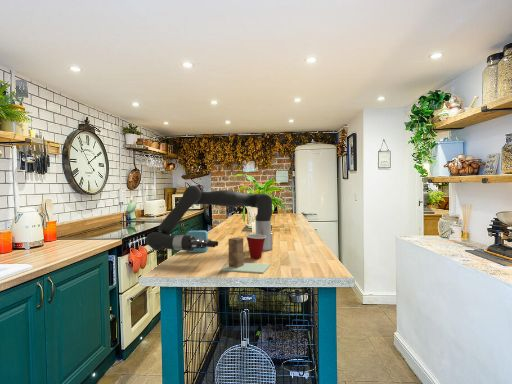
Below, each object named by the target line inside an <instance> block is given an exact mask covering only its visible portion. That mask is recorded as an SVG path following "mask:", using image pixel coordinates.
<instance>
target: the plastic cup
mask: <svg viewBox="0 0 512 384" xmlns="http://www.w3.org/2000/svg"><path fill="white" fill-rule="evenodd" d="M245 237H246V241H247V245H248V252H249V257H250V259H252V260H258V259H262V257H263V245H264V240H265V238H266V236H264V235H259V234H256V233H249V234H246V235H245Z"/></svg>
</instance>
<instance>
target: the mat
mask: <svg viewBox="0 0 512 384" xmlns="http://www.w3.org/2000/svg"><path fill="white" fill-rule="evenodd" d="M271 266H272V264H270V263H257V262H256V263H255V262H254V263H253V262H244V266H241V267H239V268H235V267H229V263H228V264H227V265H225V266H224V267H222V268H221V269H220V271H223V272H237V273H248V274H249V273H250V274H264V273H266V271H267V270H269V268H270V267H271Z"/></svg>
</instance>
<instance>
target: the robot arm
mask: <svg viewBox="0 0 512 384" xmlns="http://www.w3.org/2000/svg"><path fill="white" fill-rule="evenodd" d="M193 205H194V206H195V205H209V206H210V205H211V206H217V207H218V206H220V207H231V208H236V207H237V208H238V207H251V208H256V209H257V211H256V215H255V222H254V223H255V224H254V225H255V234H259V235H264V236H266V238H265V240H264V245H263V251H264V252H265V251H270V250H273V232H272V215H273V200H272V197H271V195H269V194H268V193H244V192H240V191H235V190H227V189H226V190H224V189H223V190H221V189H220V190H213V191H202V190H201V188H200V187H198V186H197V185H190V186H187V188H185V190H184V191H183V193H182V196H181V198H180V199H179V201H178V202H177V204H176V205H175V206H174V208H173V209H172V210H170V212H169V213H168V215H166V217H165V218H164V219H163V220H162V222H161V223H160V224H159V225H158V231H159V232H157V231H154V232H153V231H152V232H150V233H148V234H147V235H146V237H145V243H146V244H147V246H149V247H150V248H151V249H152V250H153V251H156V252H157V251H161V250H162V249H167V250H177V251H186V252H187V251H193V250H194V249H195V248H205V247H206V248H207V247H208V248H216V247H218V246H219V241H217V240H212V239H209V238H208V239H197V240H196V239H195V237H194V236H193V235H186V234H179V235H177V234H171V233H172V232H173V231H174V230H175V228H176V227H177V226H178V224H179V223H180V221H181V220H182V219H183V217H184V216H185V214H186V213H187V212H188V211H189V209H190V208H191V207H192V206H193ZM263 251H262V252H263Z"/></svg>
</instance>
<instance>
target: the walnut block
mask: <svg viewBox="0 0 512 384" xmlns="http://www.w3.org/2000/svg"><path fill="white" fill-rule="evenodd" d="M244 259H245V258H244V238H243V237H231V238H228V264H229V267H235V268H239V267H241V266H244V263H245V261H244Z"/></svg>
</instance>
